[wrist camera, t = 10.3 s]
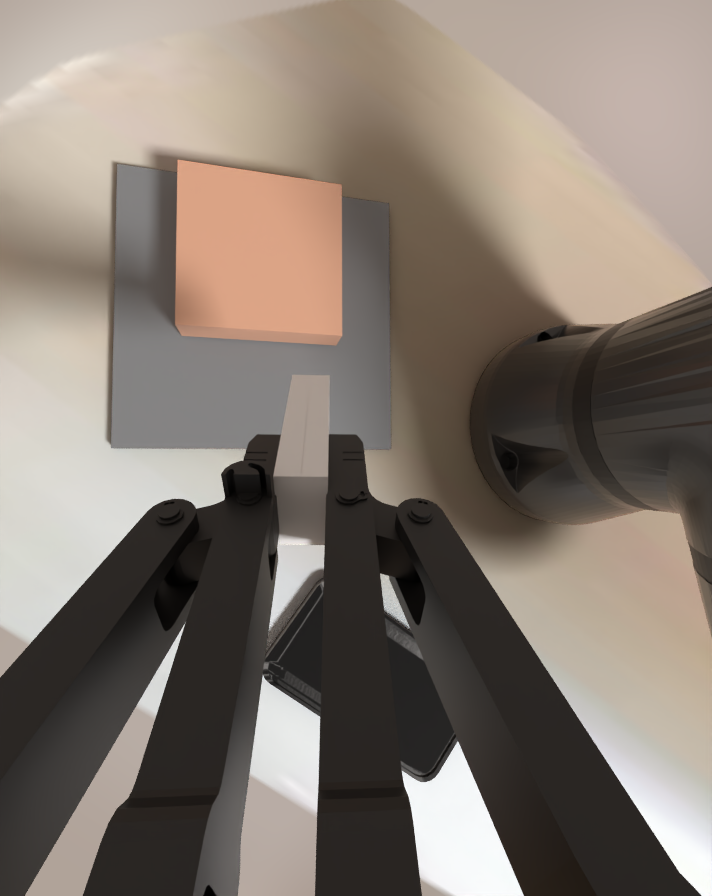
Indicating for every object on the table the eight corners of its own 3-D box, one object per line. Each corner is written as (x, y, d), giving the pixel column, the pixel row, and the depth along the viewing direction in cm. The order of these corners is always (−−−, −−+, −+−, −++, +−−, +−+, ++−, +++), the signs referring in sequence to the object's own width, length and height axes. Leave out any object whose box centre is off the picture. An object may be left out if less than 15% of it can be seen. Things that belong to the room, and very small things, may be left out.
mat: (386, 208, 31) (388, 203, 30) (388, 449, 30) (391, 449, 30) (120, 170, 27) (117, 163, 26) (114, 448, 26) (111, 447, 26)
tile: (335, 346, 29) (335, 206, 29) (342, 335, 27) (341, 184, 27) (182, 336, 27) (184, 185, 27) (175, 324, 24) (177, 159, 25)
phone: (327, 572, 28) (489, 689, 30) (325, 568, 29) (481, 681, 31) (253, 675, 27) (428, 790, 29) (253, 667, 28) (422, 778, 30)
